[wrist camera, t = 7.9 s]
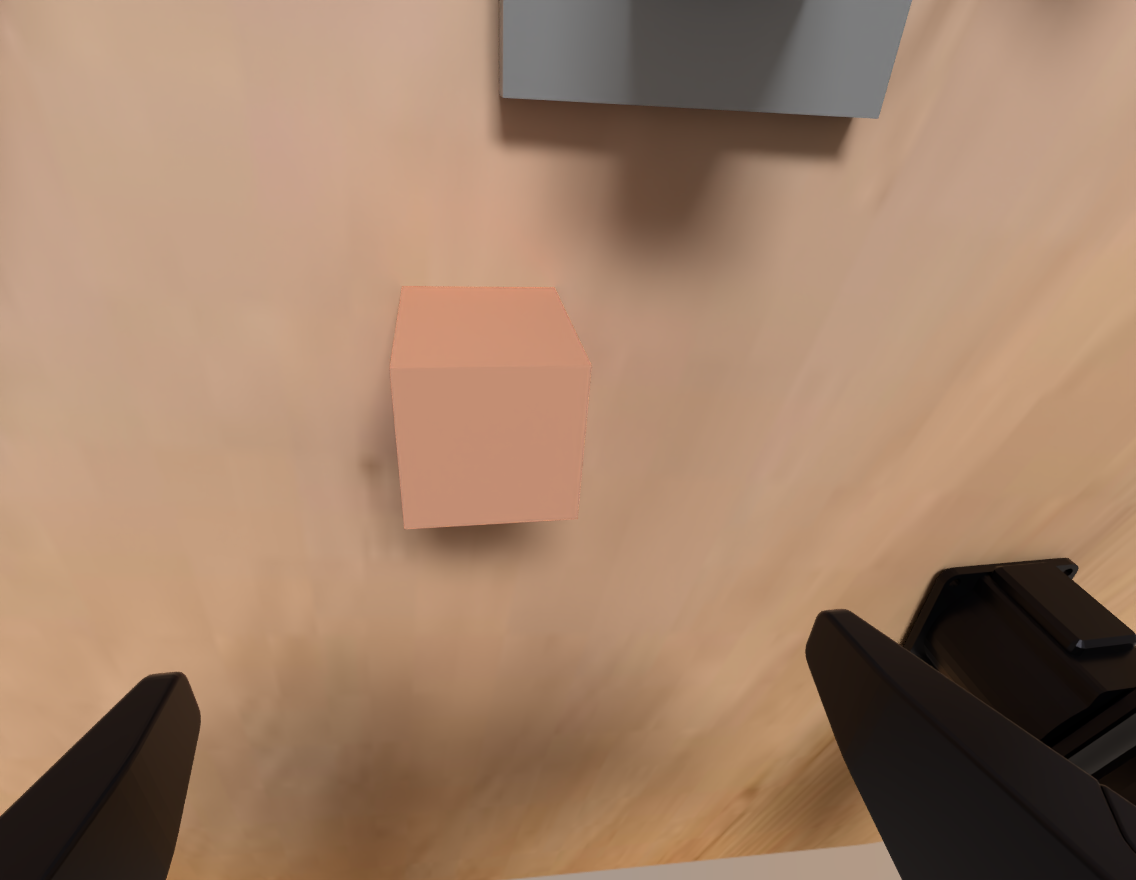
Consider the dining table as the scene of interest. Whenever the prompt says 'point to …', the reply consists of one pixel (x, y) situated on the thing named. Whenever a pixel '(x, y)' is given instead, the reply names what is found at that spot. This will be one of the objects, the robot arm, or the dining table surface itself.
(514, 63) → the plate
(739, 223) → the dining table surface
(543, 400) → the terracotta block
